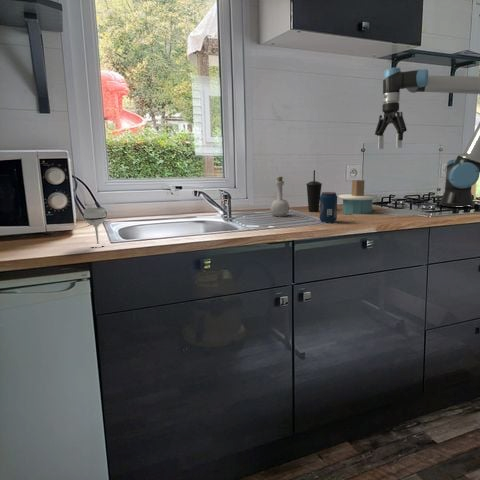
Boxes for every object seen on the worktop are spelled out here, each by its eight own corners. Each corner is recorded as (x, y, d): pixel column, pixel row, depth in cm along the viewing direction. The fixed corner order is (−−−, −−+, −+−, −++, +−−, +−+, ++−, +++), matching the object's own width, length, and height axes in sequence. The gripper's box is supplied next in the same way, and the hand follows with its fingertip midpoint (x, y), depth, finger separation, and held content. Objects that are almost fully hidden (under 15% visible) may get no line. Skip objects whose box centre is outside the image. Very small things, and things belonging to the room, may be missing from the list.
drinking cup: (317, 213, 185) (318, 170, 181) (303, 211, 190) (303, 170, 185) (324, 211, 191) (325, 170, 187) (310, 210, 196) (310, 170, 191)
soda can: (318, 220, 164) (319, 192, 161) (335, 220, 163) (336, 191, 160) (320, 223, 157) (321, 193, 154) (337, 223, 156) (338, 193, 154)
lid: (363, 195, 191) (363, 178, 189) (384, 198, 175) (385, 180, 173) (332, 197, 186) (332, 180, 185) (351, 200, 170) (352, 182, 169)
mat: (405, 210, 188) (405, 208, 187) (432, 214, 171) (432, 213, 170) (373, 212, 183) (373, 210, 183) (397, 217, 166) (397, 216, 166)
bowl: (361, 210, 190) (362, 196, 188) (377, 213, 177) (378, 198, 176) (337, 212, 186) (338, 197, 185) (352, 215, 174) (352, 200, 173)
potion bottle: (277, 217, 174) (277, 177, 170) (266, 215, 181) (266, 176, 177) (293, 215, 178) (293, 176, 174) (281, 213, 185) (281, 175, 182)
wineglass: (111, 243, 128) (107, 207, 125) (107, 248, 121) (103, 210, 119) (89, 244, 127) (85, 208, 125) (84, 249, 120) (80, 211, 118)
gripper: (368, 106, 196) (367, 149, 200) (402, 98, 173) (400, 147, 177) (380, 106, 198) (379, 149, 202) (416, 98, 175) (414, 146, 179)
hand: (389, 148), depth 190 cm, fingers open, 13 cm apart
